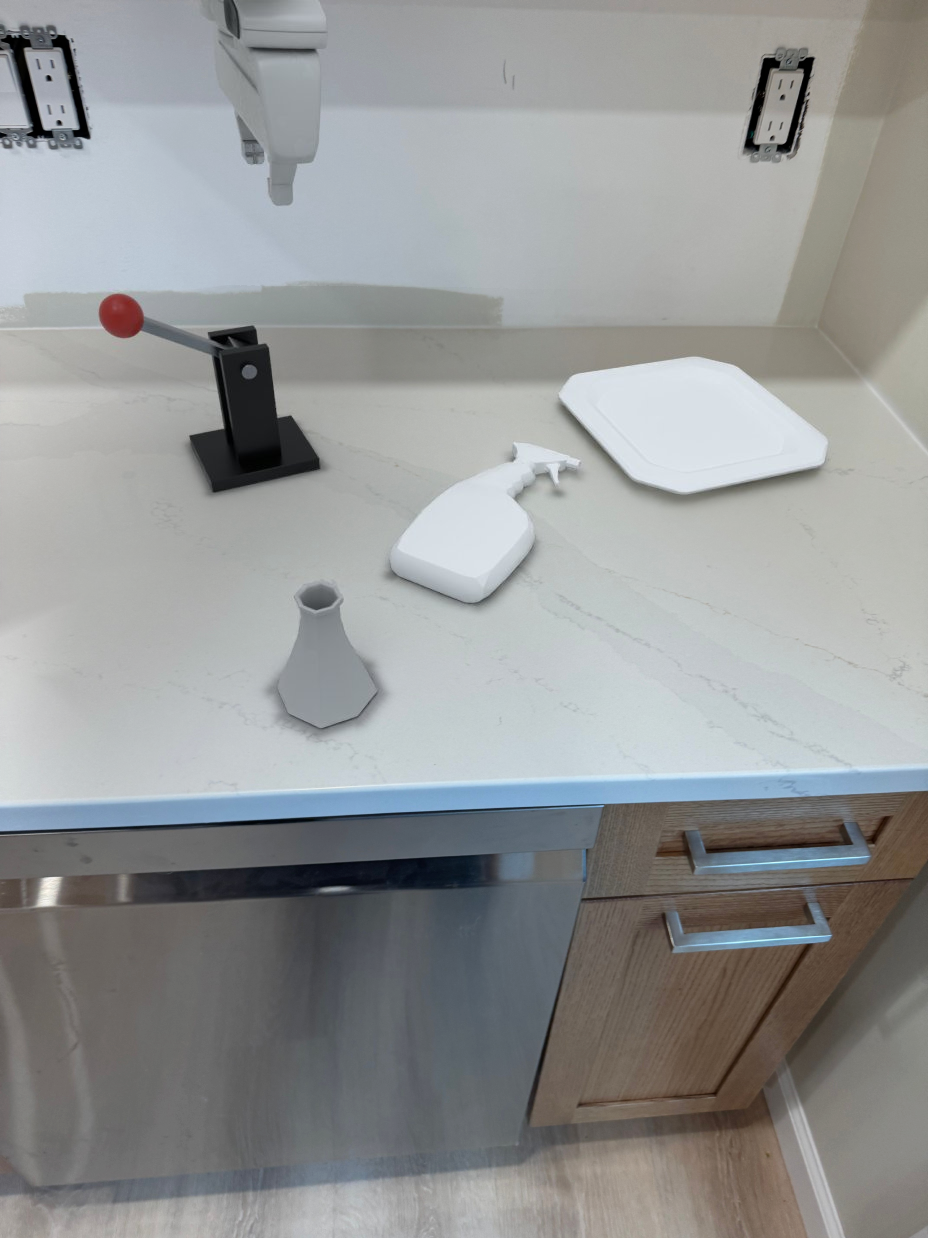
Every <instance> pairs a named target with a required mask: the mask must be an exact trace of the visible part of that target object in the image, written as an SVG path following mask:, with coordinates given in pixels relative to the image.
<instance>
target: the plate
mask: <svg viewBox="0 0 928 1238" xmlns="http://www.w3.org/2000/svg"><path fill="white" fill-rule="evenodd" d="M557 396H558V400H559V401H560V403H561V404H562V405H563V406H564V407H565V408H566V410H568V412H570V414H571V415H572V416H573V417H574V418H575V419H576V421H578V423H580V425H581V426H582V427H583V428H584V429H585V430H586V432H588V433H589V435H590V436H591V437H592V438H593V440H595V441H596V442H597V444H599V446H600V447H601V448H602V449H603V450H604V451H605V452H606V454H607V455H609V457H610V458H611V460H613V461H614V462H615V463H616V464H617V465H618V467H619V468H620V469H621V470H622V471H623V473H625V474H626V476H627V477H628V478H629V479H630V480H632V481H634V482H635V483H638V484H641V485H645V486H648V487H651V488H655V489H659V490H662V491H666V492H670V493H673V494H676V495H677V494H678V495H685V496H689V495H693V494H697V493H702V492H703V493H704V492H708V491H712V490H717V489H721V488H727V487H731V486H736V485H741V484H745V483H751V482H756V481H760V480H765V479H769V478H775V477H778V476H779V477H781V476H784V475H788V474H794V473H798V472H804V471H808V470H812V469H813V470H814V469H818V468H820V467H822V466H823V465H824V464H825V461H826V456H827V451H828V447H829V446H828V445H829V440H828V438H827V437H826V436H825V435H824V434H823V433H822V432H821V431H819V430H818V429H816V427H814V426H813V425H811V424H810V423H809V422H808V421H806V420H805V419H804V418H802V417H801V416H800V415H799V414H797V412H795V411H794V410H793V409H791V408H790V407H789V406H787V404H785V403H784V402H782V401H781V400H780V399H779V398H778V397H776V396H775V395H774V394H772V393H771V392H770V391H769V390H768V389H766V388H765V387H764V386H762V385H761V384H760V383H759V382H757V381H756V380H755V379H753V377H751V376H750V375H749V374H748V373H746V372H745V371H744V370H742V369H741V368H740V367H738V366H737V365H735V364H732V363H728V362H727V363H726V362H722V361H718V360H713V359H711V358H705V357H703V356H694V355H693V356H687V357H680V358H674V359H665V360H660V361H654V362H653V361H652V362H648V363H639V364H633V365H627V366H620V367H613V368H607V369H600V370H594V371H587V372H579V373H576V374H573V375H571V376H570V377H569V378H568V379H567V381H566V382H565V384H564V385H563V386H562V387H561V389H560V390H559V392H558V394H557Z"/></svg>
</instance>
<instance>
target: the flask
mask: <svg viewBox="0 0 928 1238" xmlns="http://www.w3.org/2000/svg"><path fill="white" fill-rule="evenodd" d="M293 598H294V601H295V603H296V605H297V607H298V609H299V616H300V617H299V625H298V631H297V635H296V638H295V641H294V644H293V646H292V649H291V652H290V654H289V657H288V659H287V662H286V664H285V666H284V669H283V670H282V673H281V675H280V677H279V680H278V683H277V686H276V687H277V690H278V692H279V694H280V698H281V700H282V701H283V704H284V706H285V709H286V711H287V713H288V714H289V715H292V716H293V717H295V718H297V719H300V720H301V721H304V722H306V723H308V724H310V725H312V726H314V727H316V728H318V729H323V728H327V727H330V726H332V725H335V724H338V723H340V722H341V723H342V722H344V721H348V720H350V719H353V718H356V717H358V716H359V715H360V714H361V712H362V711H363V710H364V709H365V707H367V705H368V703H369V702H370V701H371V700H372V699H373V697H374V696H375V695H376V693H377V692H378V688H377V687H376V685H375V684H374V682H373V679H372V678H371V675H370V674H369V672H368V670H367V668H366V666H365V664H364V663H363V660H362V659H361V658H360V655H359V654H358V653H357V651H356V649H355V648H354V646H353V645H352V643H351V642H350V640H349V638H348V635H347V633H346V630H345V627H344V624H343V621H342V618H341V605H342V604H343V603H344V602H345V601H344V598H345V597H344V596H343V594H342V591H341V590H340V588H339V586H338V585H336V584H334V583H331V582H329V581H326V580H324V579H318V580H315V581H312V582H308V583H304V584H303V585H302V586H301V587H300V588H299V589H298V590H297V591H296V592H295V593H294V594H293Z"/></svg>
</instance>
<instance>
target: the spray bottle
mask: <svg viewBox="0 0 928 1238" xmlns="http://www.w3.org/2000/svg"><path fill="white" fill-rule="evenodd" d="M511 454H512V455H513V456H514V457H515V459H514V460H513V461H506V462H504V463H501V464H499V465H496V466H493V467H490V468H488V469H485V470H483V471H481V472H478V473H477V474H474V475H473V476H471V477H469V478H466V479H464V480H460V481H458V482H456V483H455V484H453V485H452V486H450V487H449V488H448V489H446V490H444V491H443V492H442V493H440V494H439V495H438V496H436V497H435V498H434V499H433V500H432V501H431V502H430V503H428V504H427V505H426V506H425V507H424V508H423V509H422V510H420V512H418V514H417V515H416V516H415V518H414V519H413V520H412V521H411V523H410V524H409V525H408V526H407V528H406V529H405V530H404V531H403V533H402V534H401V535H400V537H399V538H398V539H397V541H395V543H394V544H393V545H392V546H391V548H390V552H389V557H388V560H389V564H390V567H391V571H392V572H394V573H395V574H396V576H398V577H400V578H402V579H405V580H406V581H407V580H408V581H409V582H412V583H415V584H417V585H420V586H422V587H424V588H428V589H430V590H433V591H435V592H437V593H440V594H442V595H445V596H447V597H449V598H453V599H455V600H457V601H460V602H463V603H466V604H467V603H468V604H469V603H470V604H475V603H478V602H481V601H482V600H483V599H485V598H487V597H489V596H490V595H491V594H493V592H494V591H496V589H498V588H499V586H500V585H501V584H502V583H503V582H504V581H506V579H508V577H510V575H511V574H512V573H513V572H514V571H515V569H516V568H517V567H518V566H519V565H520V564H521V563H522V562H523V560H525V558H526V557H527V556H528V555H529V553H530V551H531V549H532V548H533V546H534V543H535V540H536V537H537V536H536V532H535V531H536V530H535V526H534V523H533V522H532V519H531V518H530V516H529V515H528V513H527V512H526V511H525V510H524V509H523V507H521V505H520V504H519V503H518V502H517V501H516V500H515V499H516V496H517V495H519V494H520V493H522V492H523V489H524V488H526V487H527V488H528V487H529V486H531V485H532V484H533V483H535V480H536V475H540V474H544V473H545V474H546V473H549V476H550V478H551V480H552V482H553V485H554V486H555V487H559V484H560V482H559V478H558V477H559V472H563V471H564V470H566V469H567V468H568V469H571V470H574V471H575V470H576V471H579V469H580V468H581V464H582V460H580V459H577V458H574V457H571V455H569V454H565V453H562V452H558V451H555V450H552V449H549V448H546V447H542V446H539V445H536V444H533V443H526V442H515V441H513V442H512V447H511Z"/></svg>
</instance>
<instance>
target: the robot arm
mask: <svg viewBox="0 0 928 1238" xmlns="http://www.w3.org/2000/svg"><path fill="white" fill-rule="evenodd" d="M198 8H199V13H200V15H202V17H203V18H205V19H206V20H208V21H211V22H212V29H213V48H214V63H215V64H214V65H215V74H216V79H217V82H218V87H219V88H220V90H221V91H222V93H223V94H224V96H225V97H226V99H227V101H229V103H230V104H231V106H232V107H233V110H234V117H235V121H236V125H237V130H238V135H239V138H240V151H241V156H242V158H243V159H244V160H245V162H246V163H247V164H248V165H250V166H251V165H263V163H265V160H266V159H265V154H266V156H267V162H268V163H269V177H267V178H266V179H267V195H268V197H269V199H270V201H271V202H272V204H273V205H274V206H277V207H282V206H290V205H292V204H293V201H294V188H293V185H294V181H295V177H296V173H297V168H298V165H302V164H312V163H313V162H314V159H315V158H316V155H317V152H318V148H319V143H320V127H321V105H322V67H321V66H322V65H321V57H320V56H319V51H318V50H325V49H326V48H327V47H328V39H329V38H328V37H329V36H328V31H329V30H328V20H327V16H326V13H325V11H324V9H323V6H322V4H321V1H320V0H198Z"/></svg>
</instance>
